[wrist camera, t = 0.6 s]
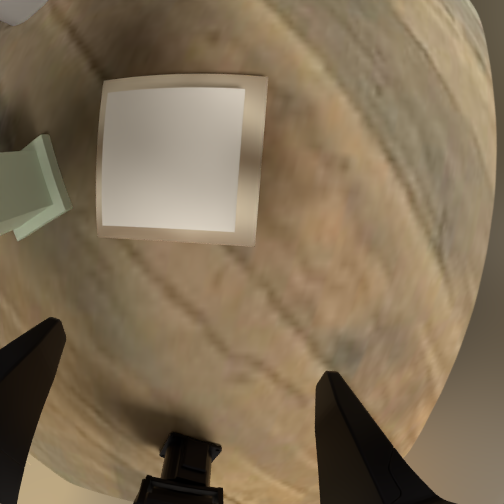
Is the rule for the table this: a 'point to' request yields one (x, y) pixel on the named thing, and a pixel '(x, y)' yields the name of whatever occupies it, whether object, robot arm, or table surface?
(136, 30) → the table surface
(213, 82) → the ash base slab
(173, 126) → the whitewashed top slab
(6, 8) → the white paw print block
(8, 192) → the sage pillar
